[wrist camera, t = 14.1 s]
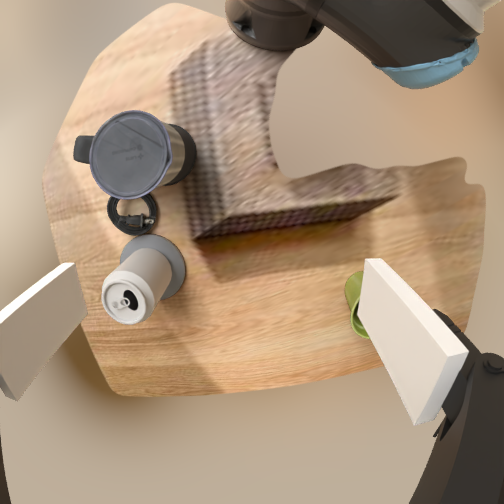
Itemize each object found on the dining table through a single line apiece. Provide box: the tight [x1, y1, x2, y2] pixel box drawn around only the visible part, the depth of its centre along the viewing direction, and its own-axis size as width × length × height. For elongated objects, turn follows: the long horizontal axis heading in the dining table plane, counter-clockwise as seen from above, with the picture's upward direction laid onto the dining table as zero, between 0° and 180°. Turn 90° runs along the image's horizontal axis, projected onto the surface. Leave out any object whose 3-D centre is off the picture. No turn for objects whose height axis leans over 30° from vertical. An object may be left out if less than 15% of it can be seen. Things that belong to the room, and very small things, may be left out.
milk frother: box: [73, 110, 196, 235], centre depth 34 cm, size 14×16×15 cm
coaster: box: [120, 234, 185, 300], centre depth 45 cm, size 11×11×1 cm
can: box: [102, 248, 172, 325], centre depth 38 cm, size 8×8×12 cm
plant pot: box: [345, 271, 370, 339], centre depth 42 cm, size 9×9×9 cm
